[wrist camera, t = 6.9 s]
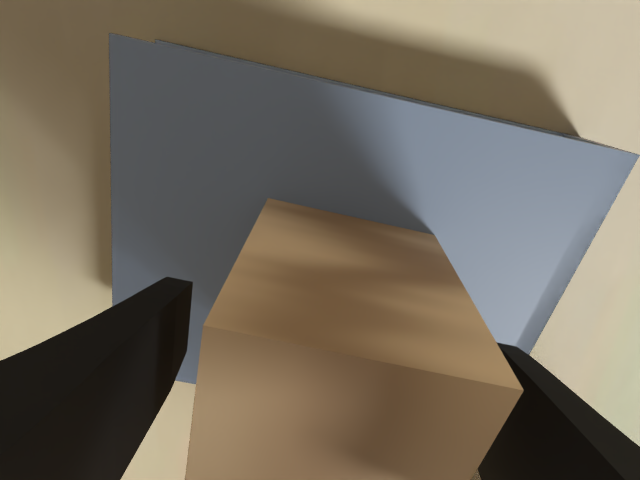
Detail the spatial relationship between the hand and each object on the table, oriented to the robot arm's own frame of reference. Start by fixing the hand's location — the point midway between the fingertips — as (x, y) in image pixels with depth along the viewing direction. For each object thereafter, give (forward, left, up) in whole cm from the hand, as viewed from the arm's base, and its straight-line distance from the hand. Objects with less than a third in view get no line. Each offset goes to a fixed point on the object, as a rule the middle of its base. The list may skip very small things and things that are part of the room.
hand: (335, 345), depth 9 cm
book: (0, 0, -6) cm, 6 cm away
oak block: (0, 0, -3) cm, 3 cm away
